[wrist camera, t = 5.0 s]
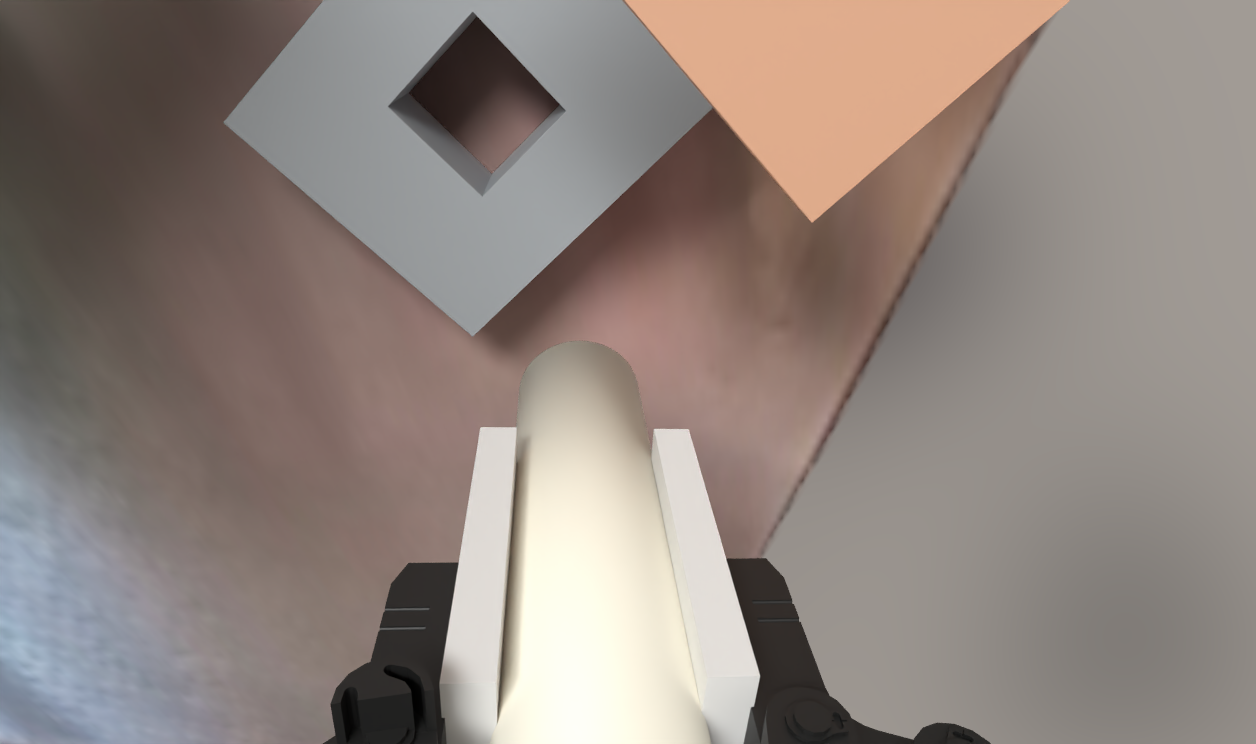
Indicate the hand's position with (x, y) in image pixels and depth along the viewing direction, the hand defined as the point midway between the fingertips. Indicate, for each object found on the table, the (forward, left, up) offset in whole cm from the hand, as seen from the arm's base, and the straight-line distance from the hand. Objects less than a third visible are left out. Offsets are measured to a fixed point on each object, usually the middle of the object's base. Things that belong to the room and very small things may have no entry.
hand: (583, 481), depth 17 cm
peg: (0, 0, -4) cm, 4 cm away
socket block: (-7, +2, -20) cm, 21 cm away
